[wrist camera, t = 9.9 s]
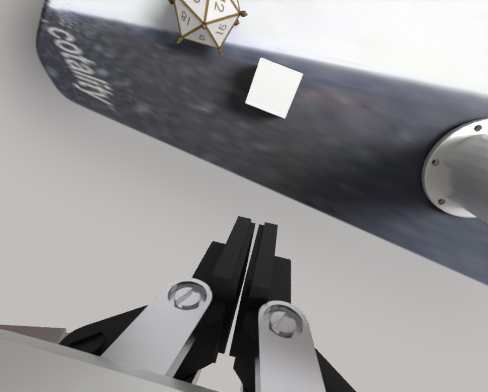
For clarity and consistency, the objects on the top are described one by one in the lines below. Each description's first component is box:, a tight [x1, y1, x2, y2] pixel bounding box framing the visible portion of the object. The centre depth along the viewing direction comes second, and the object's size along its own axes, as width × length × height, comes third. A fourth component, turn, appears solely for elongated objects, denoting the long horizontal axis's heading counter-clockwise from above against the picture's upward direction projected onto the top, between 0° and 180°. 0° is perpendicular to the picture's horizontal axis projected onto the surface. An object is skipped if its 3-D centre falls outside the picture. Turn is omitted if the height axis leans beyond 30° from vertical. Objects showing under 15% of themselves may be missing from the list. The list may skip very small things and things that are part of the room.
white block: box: [245, 58, 303, 119], centre depth 31 cm, size 5×5×5 cm
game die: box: [168, 0, 248, 56], centre depth 28 cm, size 9×8×10 cm
